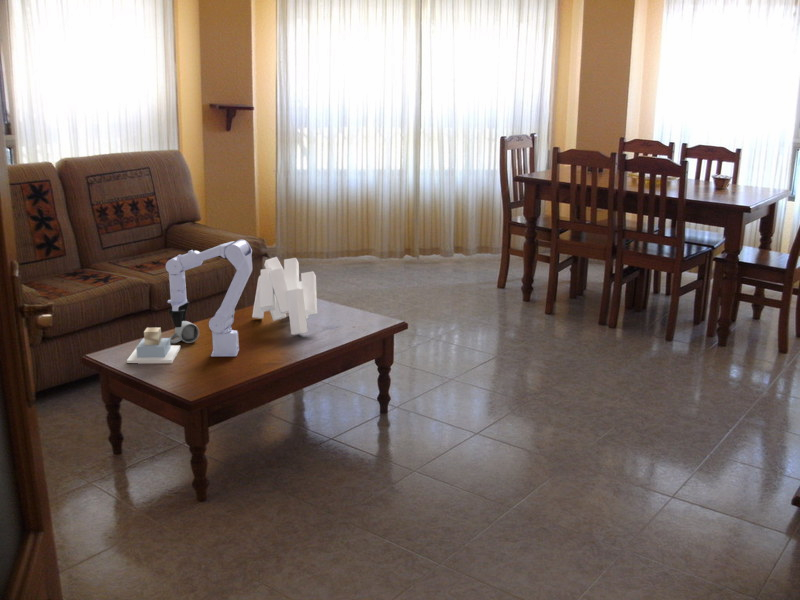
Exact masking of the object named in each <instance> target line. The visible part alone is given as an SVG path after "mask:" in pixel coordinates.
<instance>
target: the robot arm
mask: <svg viewBox="0 0 800 600" xmlns="http://www.w3.org/2000/svg"><path fill="white" fill-rule="evenodd" d="M252 254H253V249H252V247H251V245H250V243H249V242H248V240H245V239H237V240H236V241H235V240H233V241H228V242H226V243H221V244H218V245H217V246H214V247H212V248H208V249H205V250H203V251H199V250H193V249H191V250H188V251H187V253H184V254H178V255H177V256H174V257H173V258H171V259H168V261H167V262H166V263H165V270H166V272H167V273H168V280H169V294H170V299H168V300H167V303H168V304H170V305H171V308H169V309H168V313H169V315H170V316H171V318H172V321H173V325H174V327H181V326H182V321H186V319H187V318H186V317H187V314H188V312H187V311H188V307H189V305H190V300H189V301H188V299H187V288H186V287H187V285H186V271H187V270H190V269H193V268H197V267H200V266H202V264H203V262H204V261H207V260H209V259H213V258H217V257H219V256H220V257H221V258H223V259H227V260H228V261H229V262H230V263H231V264H232V266H234V268H235V270H236V271H235V273H234V276H233V278H232V281H231V283H230V285H229V287H228V289H227V291H226V293H225V296H224V298H223V301H222V302H221V304H220V307H219V308H218V309H217V311H216V312H215V314H214V315H213V317H211V318H210V319H209V321H208V326H209V327H208V328H209V329H210V330H211V337H212V352H211V354H210V357H212V358H213V357H237V356H238V353H239V351H240V343H239V331H238V330H236V329H235V330H234V329H232V328H233V327H232V325H233V323H234V321H235V318H234V317H235V313H236V310H235V309H236V307H237V304H238V303H239V300H240V299H241V298H240V297H241V296H242V294H243V292H244V289H245V287H246V285H247V283H248V281H249V278H250V276H251V274H252V272H253V258H252V257H253V256H252Z"/></svg>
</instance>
